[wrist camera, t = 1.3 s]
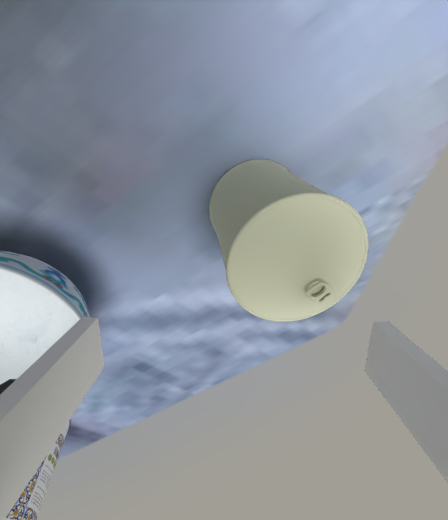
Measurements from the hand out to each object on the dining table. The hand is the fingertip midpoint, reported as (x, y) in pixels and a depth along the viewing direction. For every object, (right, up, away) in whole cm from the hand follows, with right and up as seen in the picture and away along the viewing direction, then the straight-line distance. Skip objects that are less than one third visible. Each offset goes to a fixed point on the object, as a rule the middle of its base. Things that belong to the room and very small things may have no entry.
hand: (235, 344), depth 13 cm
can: (+3, +9, +14) cm, 17 cm away
